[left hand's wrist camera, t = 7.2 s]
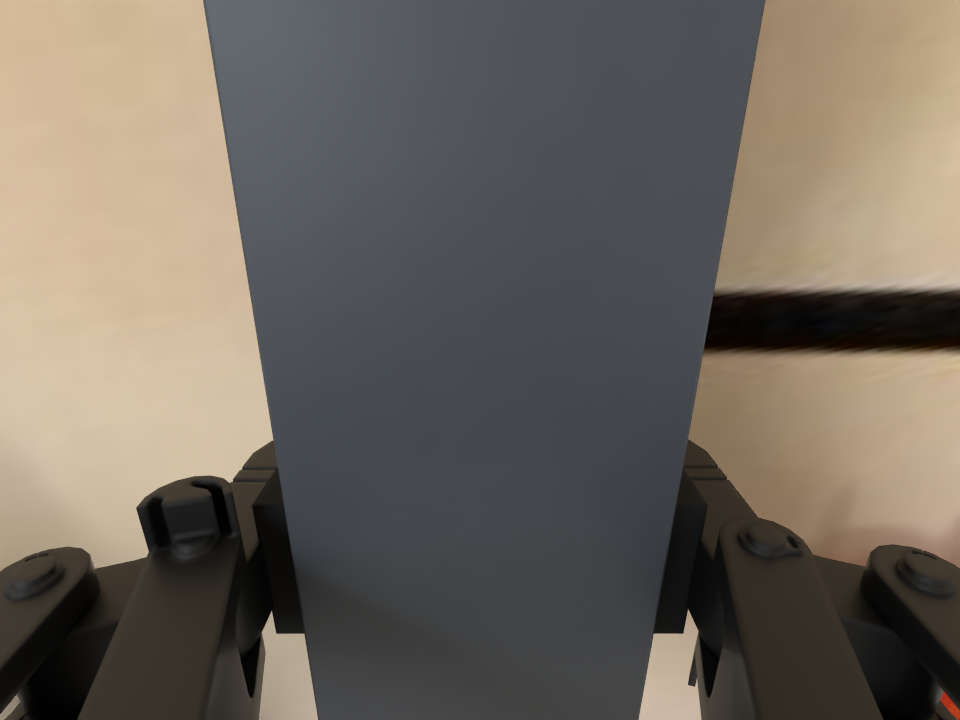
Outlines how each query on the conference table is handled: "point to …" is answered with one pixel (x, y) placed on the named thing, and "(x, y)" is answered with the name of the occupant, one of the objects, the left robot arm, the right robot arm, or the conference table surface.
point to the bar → (481, 327)
